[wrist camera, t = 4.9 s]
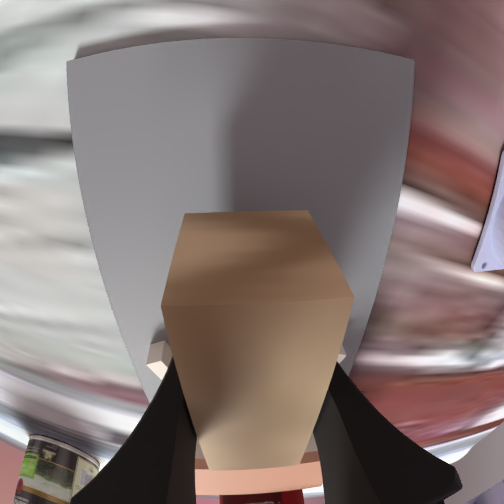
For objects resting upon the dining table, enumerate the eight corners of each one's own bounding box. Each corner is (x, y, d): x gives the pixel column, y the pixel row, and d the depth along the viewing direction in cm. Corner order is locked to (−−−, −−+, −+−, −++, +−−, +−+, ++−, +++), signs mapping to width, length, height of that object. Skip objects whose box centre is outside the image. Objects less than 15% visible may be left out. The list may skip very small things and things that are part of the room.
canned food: (265, 467, 30) (275, 550, 20) (204, 456, 27) (205, 550, 18) (311, 443, 27) (329, 539, 17) (245, 431, 24) (254, 546, 15)
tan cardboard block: (307, 210, 10) (354, 297, 6) (285, 389, 15) (299, 465, 11) (184, 213, 10) (160, 305, 6) (209, 393, 15) (209, 470, 11)
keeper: (407, 60, 10) (521, 69, 5) (326, 421, 24) (341, 486, 18) (73, 61, 9) (-37, 68, 4) (166, 429, 23) (161, 496, 18)
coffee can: (19, 437, 27) (-1, 519, 15) (47, 430, 25) (24, 534, 13) (77, 469, 32) (65, 547, 20) (115, 466, 30) (105, 560, 18)
